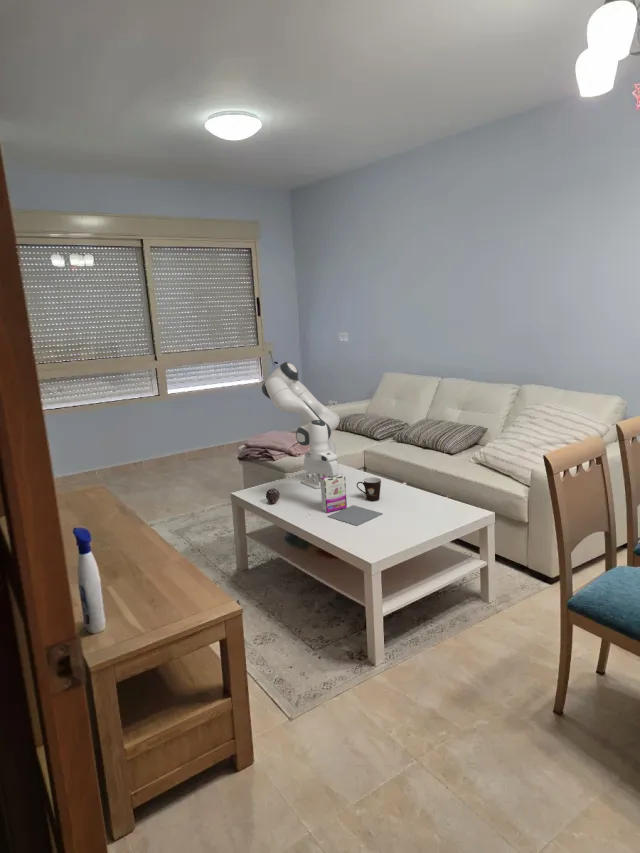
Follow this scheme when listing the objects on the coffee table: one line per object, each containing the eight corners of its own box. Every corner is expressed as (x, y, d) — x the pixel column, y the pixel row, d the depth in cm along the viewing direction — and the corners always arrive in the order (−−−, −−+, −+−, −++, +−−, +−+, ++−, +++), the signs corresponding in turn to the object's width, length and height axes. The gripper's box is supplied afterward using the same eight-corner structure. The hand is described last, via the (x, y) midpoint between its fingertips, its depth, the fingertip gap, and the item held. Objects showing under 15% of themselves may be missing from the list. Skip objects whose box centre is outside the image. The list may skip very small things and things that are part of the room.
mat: (327, 516, 261) (327, 516, 261) (353, 505, 273) (353, 505, 273) (357, 526, 248) (356, 525, 248) (382, 514, 261) (382, 513, 261)
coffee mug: (385, 498, 281) (384, 479, 279) (374, 503, 275) (373, 483, 273) (366, 494, 289) (366, 475, 287) (355, 498, 283) (355, 479, 281)
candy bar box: (341, 505, 275) (340, 473, 271) (347, 508, 270) (345, 475, 267) (321, 510, 270) (319, 477, 266) (326, 513, 265) (324, 480, 262)
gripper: (300, 452, 275) (301, 479, 278) (330, 459, 261) (331, 487, 264) (309, 449, 279) (310, 476, 282) (339, 456, 265) (341, 484, 268)
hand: (321, 482), depth 273 cm, fingers closed
